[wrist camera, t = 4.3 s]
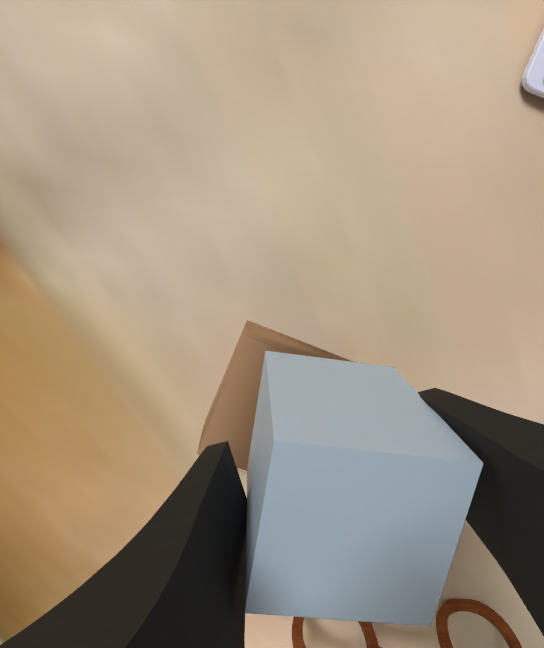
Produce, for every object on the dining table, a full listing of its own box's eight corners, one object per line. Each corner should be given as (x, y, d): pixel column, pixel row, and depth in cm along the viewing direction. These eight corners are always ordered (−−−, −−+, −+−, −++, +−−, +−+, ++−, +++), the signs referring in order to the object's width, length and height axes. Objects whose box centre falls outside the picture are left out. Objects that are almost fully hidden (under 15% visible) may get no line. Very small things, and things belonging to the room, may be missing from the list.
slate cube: (393, 367, 12) (483, 463, 8) (366, 478, 13) (430, 625, 9) (265, 350, 12) (273, 440, 7) (247, 466, 13) (244, 613, 8)
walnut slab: (355, 361, 21) (372, 385, 18) (308, 456, 22) (316, 493, 19) (247, 318, 20) (246, 336, 17) (204, 420, 21) (197, 453, 18)
